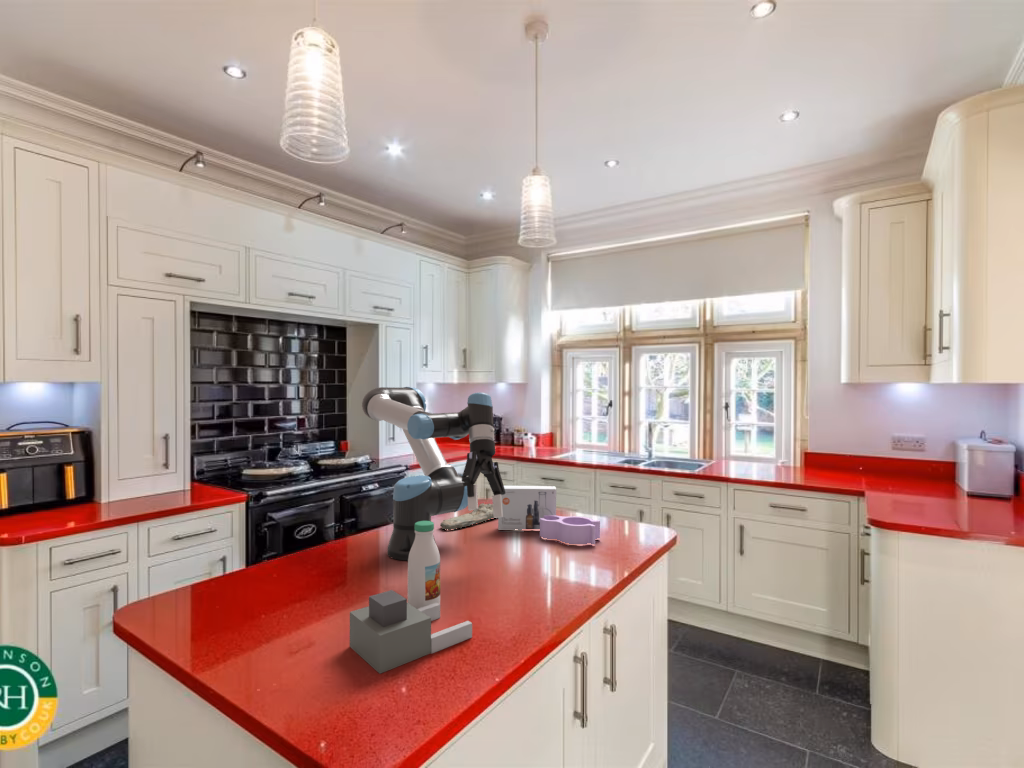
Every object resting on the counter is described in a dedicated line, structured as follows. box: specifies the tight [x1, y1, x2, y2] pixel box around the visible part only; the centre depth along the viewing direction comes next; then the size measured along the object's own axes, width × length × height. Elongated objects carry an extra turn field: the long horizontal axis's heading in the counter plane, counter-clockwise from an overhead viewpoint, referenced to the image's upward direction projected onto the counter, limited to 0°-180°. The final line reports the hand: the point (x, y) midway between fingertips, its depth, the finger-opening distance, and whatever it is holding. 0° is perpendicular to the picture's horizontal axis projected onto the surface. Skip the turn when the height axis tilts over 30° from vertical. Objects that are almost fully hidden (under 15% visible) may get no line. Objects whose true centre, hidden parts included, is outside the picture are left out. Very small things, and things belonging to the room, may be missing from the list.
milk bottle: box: [407, 520, 441, 609], centre depth 123 cm, size 8×8×20 cm
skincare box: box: [497, 485, 557, 530], centre depth 188 cm, size 21×6×16 cm, turn 90°
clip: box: [539, 514, 601, 545], centre depth 177 cm, size 20×12×7 cm, turn 66°
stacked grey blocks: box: [349, 589, 473, 674], centre depth 106 cm, size 14×21×11 cm, turn 132°
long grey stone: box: [439, 502, 494, 530], centre depth 200 cm, size 35×5×10 cm
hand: (486, 513), depth 144 cm, fingers open, 13 cm apart
